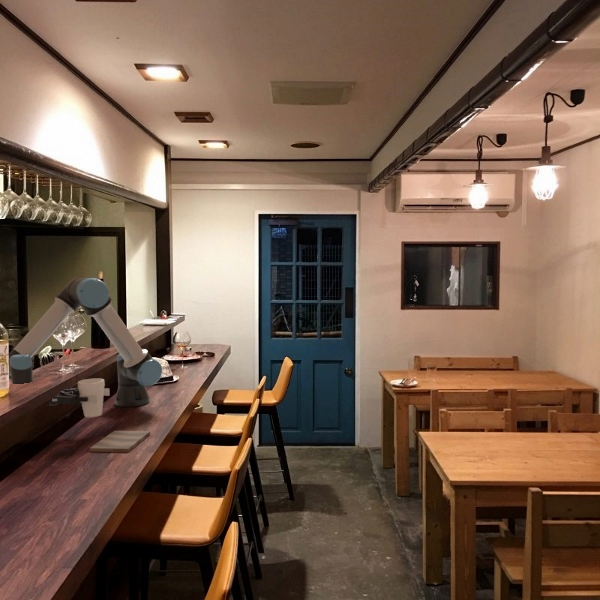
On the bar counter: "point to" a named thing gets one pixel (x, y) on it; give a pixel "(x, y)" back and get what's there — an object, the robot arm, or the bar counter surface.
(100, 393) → the foam cup
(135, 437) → the walnut board
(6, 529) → the bar counter surface
